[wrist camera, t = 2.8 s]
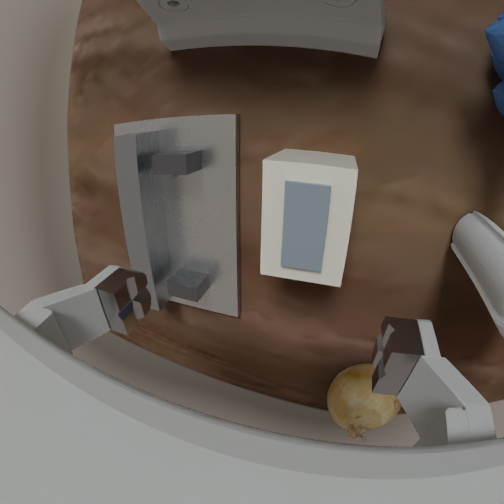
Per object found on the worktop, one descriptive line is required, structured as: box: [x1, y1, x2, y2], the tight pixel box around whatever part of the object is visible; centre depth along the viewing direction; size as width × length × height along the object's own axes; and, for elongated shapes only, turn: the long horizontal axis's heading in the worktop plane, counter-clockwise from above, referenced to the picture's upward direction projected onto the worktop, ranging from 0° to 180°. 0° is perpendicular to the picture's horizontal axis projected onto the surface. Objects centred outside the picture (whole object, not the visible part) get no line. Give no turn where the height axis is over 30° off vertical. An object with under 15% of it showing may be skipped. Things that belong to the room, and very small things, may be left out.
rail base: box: [113, 114, 241, 317], centre depth 24 cm, size 12×18×4 cm, turn 179°
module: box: [260, 149, 358, 287], centre depth 18 cm, size 5×7×6 cm
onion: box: [327, 363, 401, 441], centre depth 24 cm, size 8×8×7 cm
